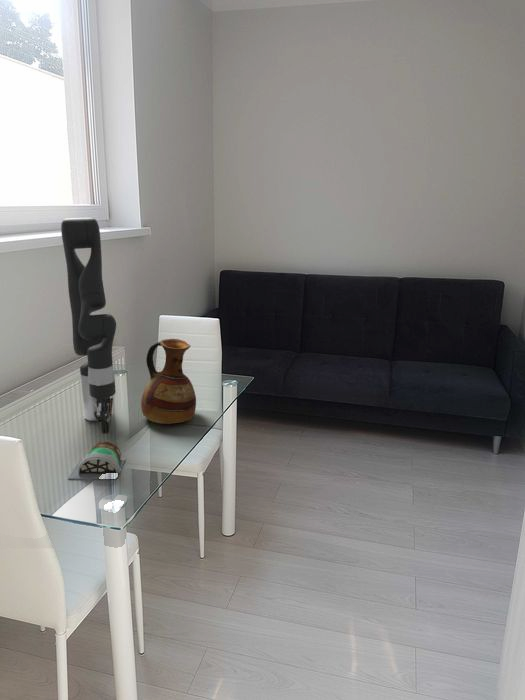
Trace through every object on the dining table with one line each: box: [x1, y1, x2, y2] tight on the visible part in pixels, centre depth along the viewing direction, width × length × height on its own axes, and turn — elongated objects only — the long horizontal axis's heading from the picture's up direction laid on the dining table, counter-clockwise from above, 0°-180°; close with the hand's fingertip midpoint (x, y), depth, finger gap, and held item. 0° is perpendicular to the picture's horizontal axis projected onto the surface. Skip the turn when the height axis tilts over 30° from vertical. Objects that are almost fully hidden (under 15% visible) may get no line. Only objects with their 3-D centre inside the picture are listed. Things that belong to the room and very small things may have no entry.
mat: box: [68, 459, 126, 481], centre depth 158 cm, size 11×14×1 cm
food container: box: [78, 441, 122, 474], centre depth 158 cm, size 12×6×10 cm
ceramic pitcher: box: [140, 338, 197, 425], centre depth 190 cm, size 20×20×30 cm
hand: (106, 432), depth 163 cm, fingers closed
